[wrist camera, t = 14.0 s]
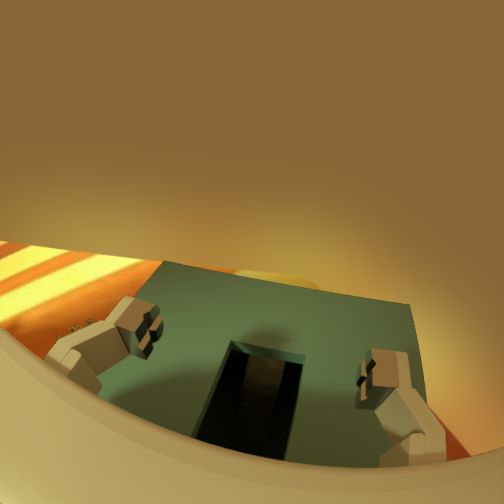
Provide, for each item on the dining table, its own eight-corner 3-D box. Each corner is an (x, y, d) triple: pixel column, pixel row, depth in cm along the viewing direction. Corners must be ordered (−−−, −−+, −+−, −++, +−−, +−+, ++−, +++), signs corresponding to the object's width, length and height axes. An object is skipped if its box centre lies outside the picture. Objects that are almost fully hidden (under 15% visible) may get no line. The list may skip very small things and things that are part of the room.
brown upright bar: (257, 467, 16) (286, 356, 17) (226, 460, 17) (250, 348, 18) (265, 438, 21) (289, 342, 22) (239, 433, 22) (260, 336, 23)
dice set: (100, 328, 33) (95, 319, 32) (87, 357, 28) (81, 348, 27) (72, 324, 33) (67, 315, 31) (59, 350, 28) (53, 341, 27)
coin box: (329, 560, 10) (412, 581, 2) (112, 503, 14) (16, 469, 6) (356, 392, 26) (409, 304, 18) (185, 357, 30) (164, 260, 22)
